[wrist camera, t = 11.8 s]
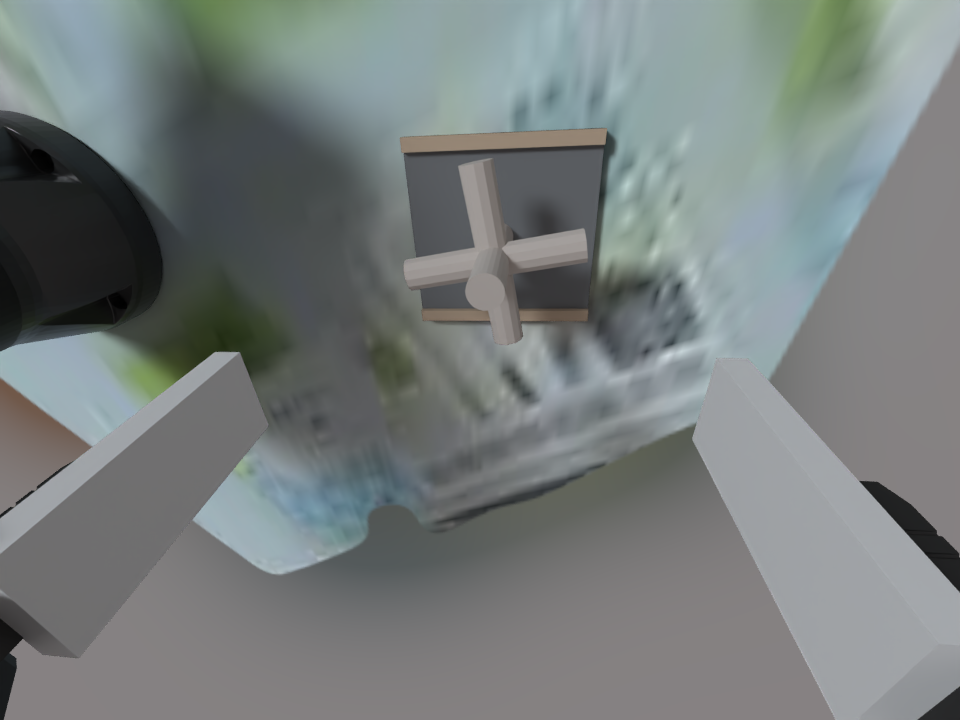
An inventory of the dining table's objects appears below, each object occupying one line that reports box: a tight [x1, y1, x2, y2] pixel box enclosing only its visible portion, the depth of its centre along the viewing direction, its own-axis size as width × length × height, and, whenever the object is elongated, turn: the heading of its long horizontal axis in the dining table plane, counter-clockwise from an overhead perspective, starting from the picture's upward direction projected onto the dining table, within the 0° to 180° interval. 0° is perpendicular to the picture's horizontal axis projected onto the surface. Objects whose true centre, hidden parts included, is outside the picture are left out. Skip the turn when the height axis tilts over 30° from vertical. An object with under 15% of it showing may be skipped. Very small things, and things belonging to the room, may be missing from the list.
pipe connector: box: [404, 158, 588, 345], centre depth 23 cm, size 10×10×10 cm
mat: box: [400, 128, 607, 321], centre depth 27 cm, size 12×12×1 cm
